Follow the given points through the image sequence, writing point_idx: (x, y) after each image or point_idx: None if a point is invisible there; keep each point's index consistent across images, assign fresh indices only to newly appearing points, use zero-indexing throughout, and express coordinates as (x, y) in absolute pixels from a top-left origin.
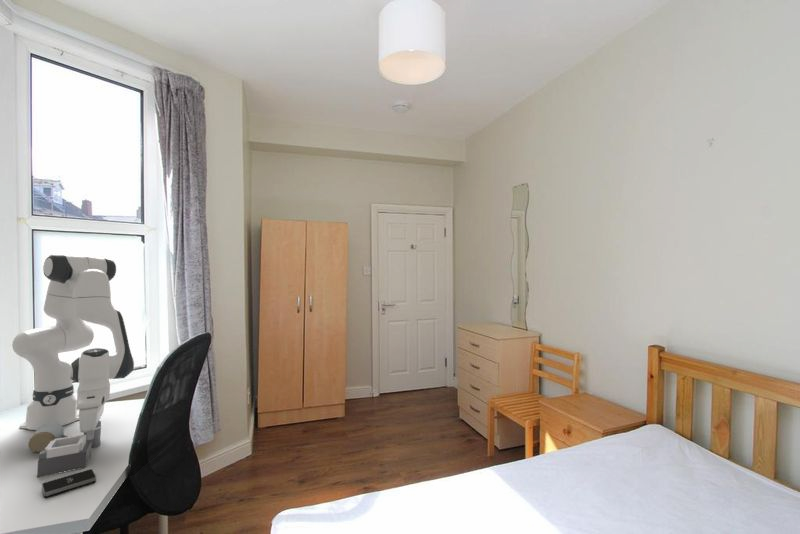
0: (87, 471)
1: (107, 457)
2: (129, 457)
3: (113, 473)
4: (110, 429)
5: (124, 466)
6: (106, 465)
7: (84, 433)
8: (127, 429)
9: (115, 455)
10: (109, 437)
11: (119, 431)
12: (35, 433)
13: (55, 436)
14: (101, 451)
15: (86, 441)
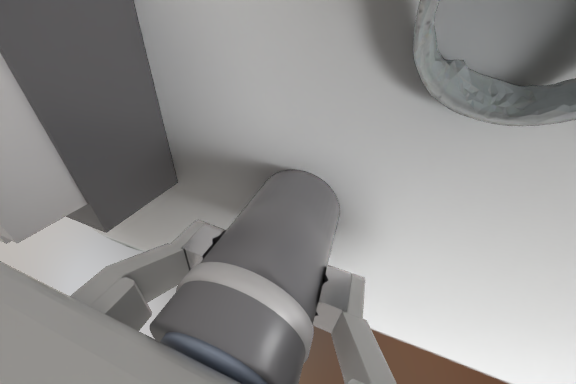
0: None
1: (148, 216)
2: (137, 249)
3: None
4: (549, 334)
5: (89, 226)
6: None
7: (227, 242)
8: (432, 349)
9: (157, 234)
10: (376, 283)
11: (437, 330)
12: None
13: None
14: (207, 217)
15: (91, 212)
